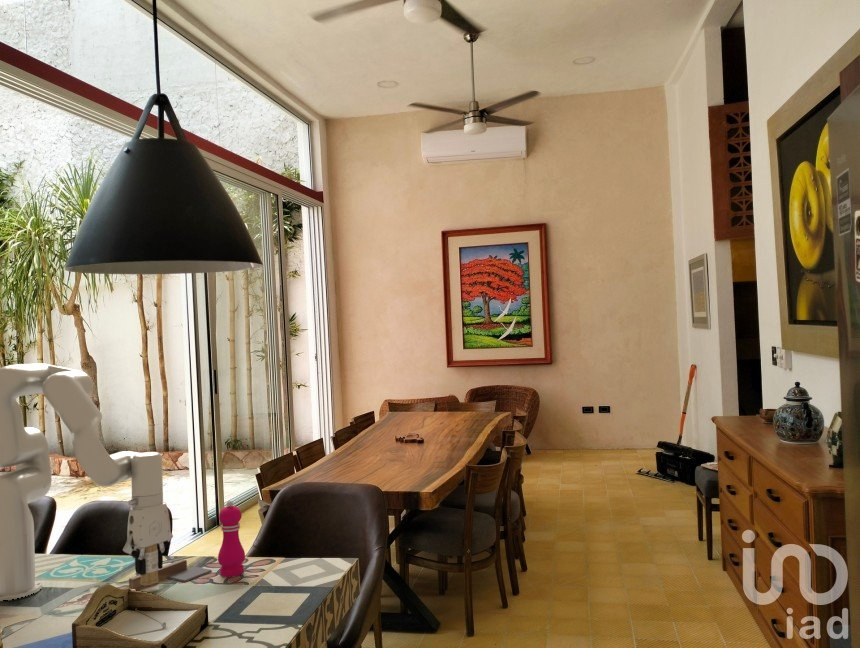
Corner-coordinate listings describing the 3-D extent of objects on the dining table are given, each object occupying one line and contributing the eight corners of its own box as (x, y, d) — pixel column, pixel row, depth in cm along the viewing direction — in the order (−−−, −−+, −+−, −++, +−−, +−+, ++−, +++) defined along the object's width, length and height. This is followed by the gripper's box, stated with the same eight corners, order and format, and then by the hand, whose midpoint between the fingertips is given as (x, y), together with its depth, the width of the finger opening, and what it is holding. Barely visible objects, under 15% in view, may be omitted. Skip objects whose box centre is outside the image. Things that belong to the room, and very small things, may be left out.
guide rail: (129, 590, 179) (128, 578, 179) (183, 569, 194) (182, 559, 194) (133, 591, 178) (132, 579, 178) (186, 570, 193) (186, 560, 193)
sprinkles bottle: (152, 579, 182) (151, 527, 182) (162, 582, 179) (161, 530, 179) (136, 584, 178) (135, 532, 178) (146, 587, 175) (145, 534, 175)
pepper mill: (229, 579, 184) (226, 505, 184) (212, 575, 188) (210, 502, 189) (251, 572, 190) (248, 499, 190) (234, 567, 194) (232, 496, 194)
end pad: (167, 578, 187) (167, 576, 187) (194, 568, 195) (194, 566, 195) (184, 582, 183) (184, 580, 183) (211, 571, 191) (211, 569, 191)
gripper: (127, 509, 170) (129, 583, 169) (183, 494, 184) (185, 563, 184) (109, 506, 174) (110, 578, 173) (165, 492, 188) (167, 559, 188)
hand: (149, 570), depth 179 cm, fingers closed on sprinkles bottle, 4 cm apart
